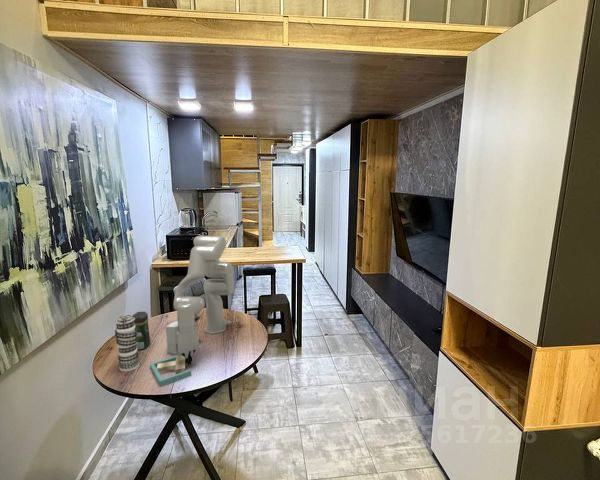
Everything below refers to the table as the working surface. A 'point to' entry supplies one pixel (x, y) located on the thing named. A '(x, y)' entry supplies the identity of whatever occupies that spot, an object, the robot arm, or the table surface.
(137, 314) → the coffee jar
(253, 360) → the table surface
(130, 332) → the decorative candle
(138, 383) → the table surface
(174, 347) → the skincare box
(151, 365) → the dock
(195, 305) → the robot arm
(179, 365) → the tee block
